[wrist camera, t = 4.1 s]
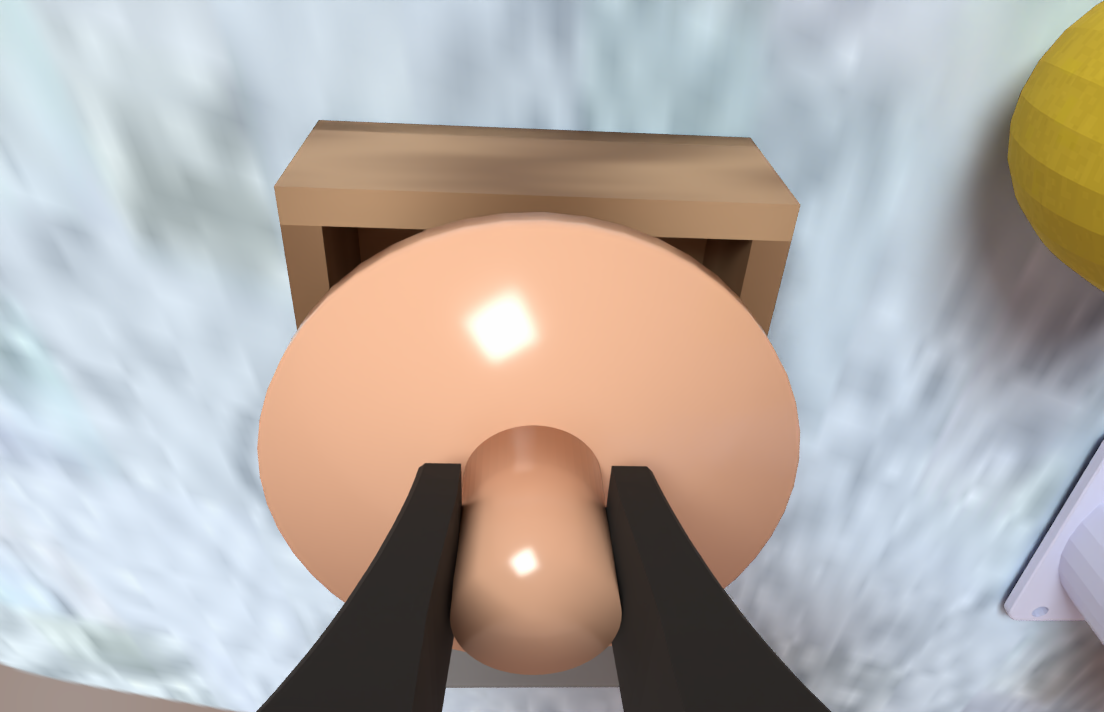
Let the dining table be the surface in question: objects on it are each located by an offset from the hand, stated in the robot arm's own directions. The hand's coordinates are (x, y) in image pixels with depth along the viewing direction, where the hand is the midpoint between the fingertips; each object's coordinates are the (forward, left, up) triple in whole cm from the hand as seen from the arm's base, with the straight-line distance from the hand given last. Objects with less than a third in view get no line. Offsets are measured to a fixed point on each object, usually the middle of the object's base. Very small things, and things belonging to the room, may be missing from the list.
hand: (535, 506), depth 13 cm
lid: (0, 0, -2) cm, 2 cm away
